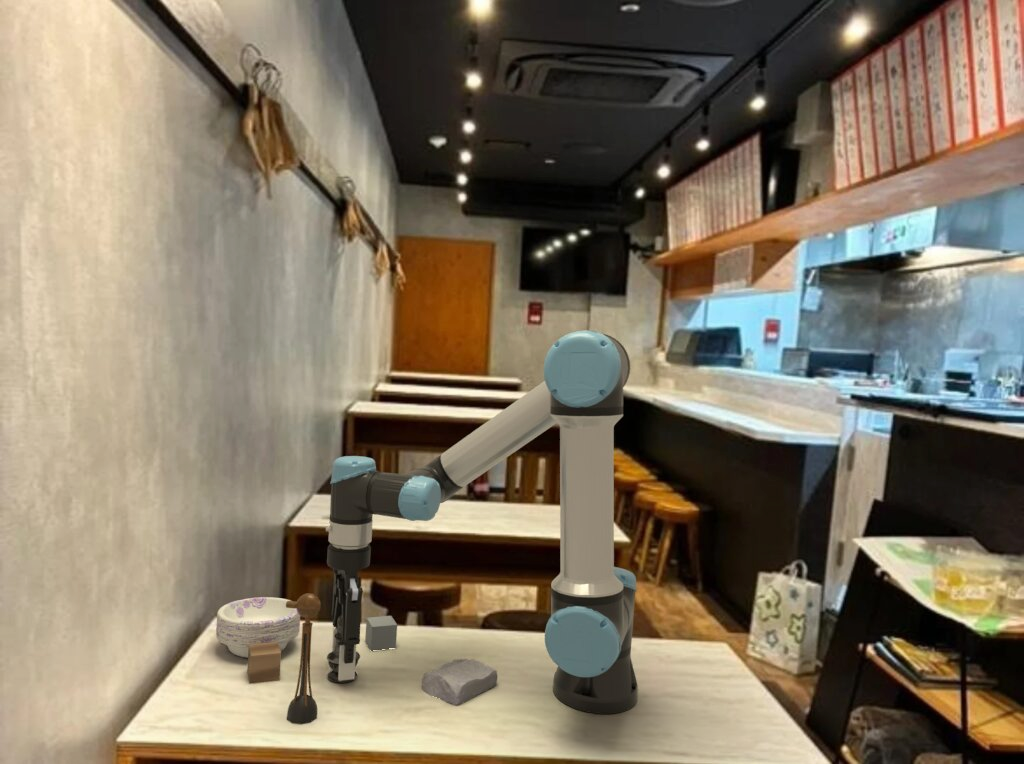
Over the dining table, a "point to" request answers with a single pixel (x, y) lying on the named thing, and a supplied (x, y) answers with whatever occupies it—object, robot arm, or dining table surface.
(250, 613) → the paper bowls
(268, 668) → the walnut cube
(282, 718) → the dining table surface
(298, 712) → the wooden tabletop sculpture
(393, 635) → the slate cube
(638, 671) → the dining table surface
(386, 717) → the dining table surface
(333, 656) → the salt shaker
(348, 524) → the robot arm
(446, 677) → the stone block
